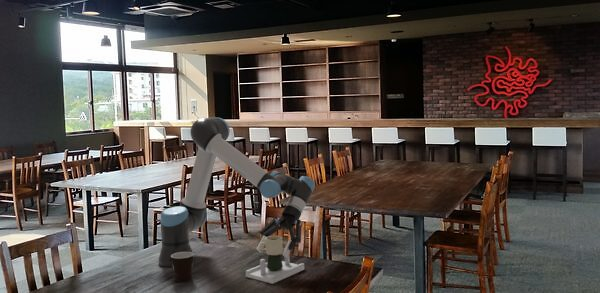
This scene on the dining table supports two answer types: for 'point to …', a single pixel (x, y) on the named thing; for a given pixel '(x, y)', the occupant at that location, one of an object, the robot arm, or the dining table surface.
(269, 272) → the tray
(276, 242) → the character mug
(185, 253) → the coffee mug
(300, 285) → the dining table surface
